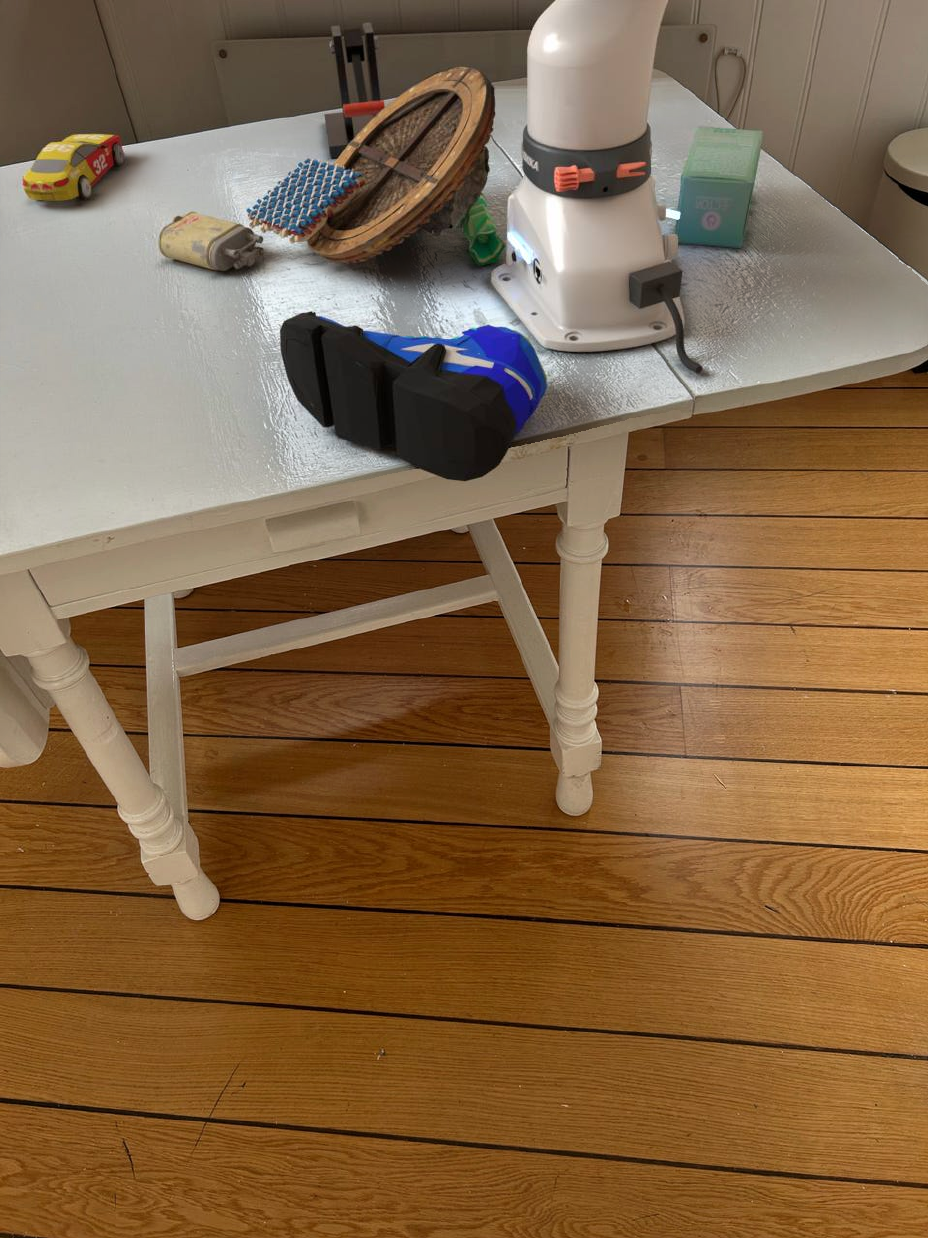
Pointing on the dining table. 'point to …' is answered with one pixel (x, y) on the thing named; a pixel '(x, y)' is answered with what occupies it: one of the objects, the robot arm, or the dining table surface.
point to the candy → (482, 234)
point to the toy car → (72, 167)
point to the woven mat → (305, 200)
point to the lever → (358, 76)
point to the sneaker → (417, 390)
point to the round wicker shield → (409, 163)
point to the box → (718, 187)
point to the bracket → (336, 123)
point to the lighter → (209, 242)
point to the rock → (460, 199)
